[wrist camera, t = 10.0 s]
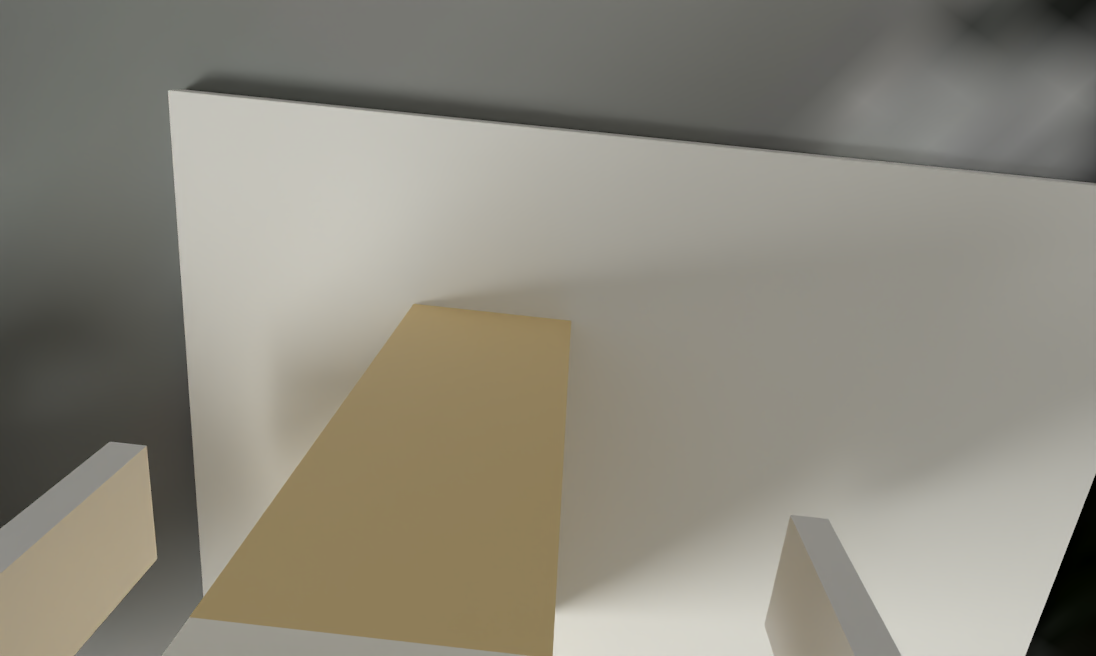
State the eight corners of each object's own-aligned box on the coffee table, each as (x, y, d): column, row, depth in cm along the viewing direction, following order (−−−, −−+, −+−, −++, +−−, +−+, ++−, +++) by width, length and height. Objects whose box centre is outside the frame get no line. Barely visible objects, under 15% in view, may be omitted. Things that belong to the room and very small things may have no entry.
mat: (220, 680, 21) (210, 697, 21) (182, 89, 16) (167, 90, 15) (965, 764, 21) (975, 783, 20) (1180, 191, 16) (1203, 196, 15)
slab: (401, 599, 19) (189, 1221, 9) (414, 303, 17) (129, 700, 6) (537, 614, 19) (481, 1258, 9) (571, 320, 17) (546, 748, 6)
